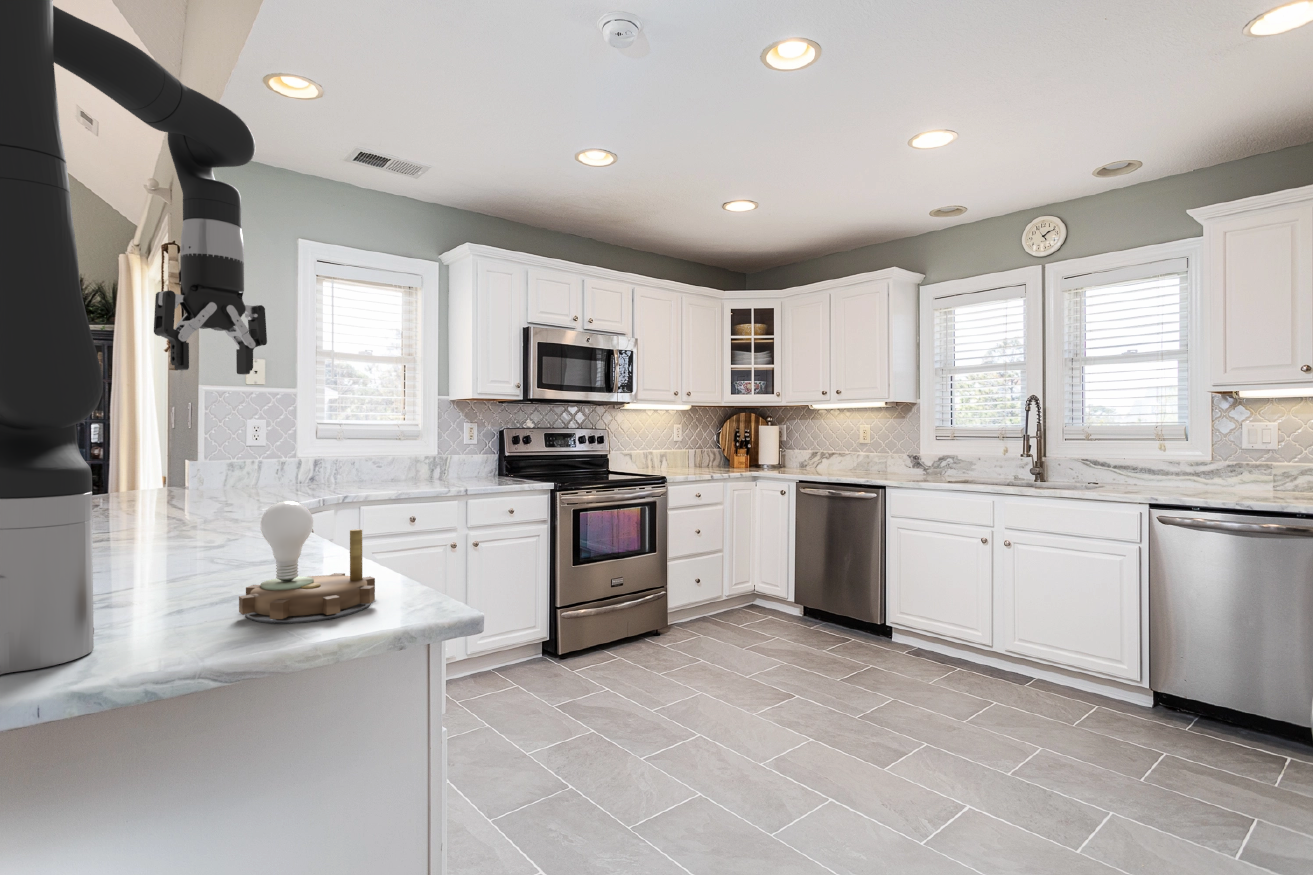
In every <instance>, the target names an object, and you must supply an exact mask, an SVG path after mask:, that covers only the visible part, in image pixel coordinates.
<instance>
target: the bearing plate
mask: <svg viewBox="0 0 1313 875" xmlns="http://www.w3.org/2000/svg"><path fill="white" fill-rule="evenodd" d="M371 604H372V602H371V603H370V604H362V603H360V604H357V605H355V606H352V607H349V608H345V609H341V610H340V613H336V614H330V615H326V614H324V613H319V614H311V615H299V616H288V617H286V618H284V619H270V615H262V614H258V613H255V612H254V613H248V614H245V616H246V618H247V619H249V620H250V621H253V622H257V623H265V624H277V625H278V624H284V625H285V624H286V625H287V624H301V623H302V624H304V623H312V622H313V623H315V622H320V621H327V620H332V619H338V618H342V617H347V616H349V615H352V614H356V613H358V612H361V611H364V610H365V609H367V608H369V606H371Z"/></svg>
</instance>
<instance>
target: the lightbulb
mask: <svg viewBox="0 0 1313 875" xmlns="http://www.w3.org/2000/svg"><path fill="white" fill-rule="evenodd" d="M313 529H314V517H313V514H312V513H311V511H310V510H309V509H308V507H307V506H305V505H304V504H303V503H301V502H299V501H298V502H297V501H294V500H284V501H283V500H282V501H279V502H276V503H273V504H272V505H270V506H269V507H268V508H267V509H266V510H265V512H264V513H263V514H262V517H261V519H260V532H261V534H262V537H263V538H264V540H265V541H266V542H267V544H268V546H269V547H270V548H271V550H272V555H273V558H274V559H275V566H276V568H275V570H276V571H275V573H276V574H275V575H276V577H275V579H279V580H281V581H283V582H290V581H292V580H293V579H295V578H296V577H299V559H300V557H301V555H302V549H303V546H304V544H305V543H306V541H307V540H308V539H309V537H310V535H311V534H312V532H313Z"/></svg>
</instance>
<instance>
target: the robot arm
mask: <svg viewBox="0 0 1313 875" xmlns="http://www.w3.org/2000/svg"><path fill="white" fill-rule="evenodd" d="M55 64H56V65H57V66H59V67H61V68H63V69H64V70H66V71H68V72H70V73H71V74H73V75H75V76H76V77H78V78H80V79H82V80H83V81H84V82H86V83H88V84H89V85H90V86H92V87H94V88H96V89H97V90H98V91H99V92H101V93H102V94H104V95H106V96H107V97H108V98H110V99H111V100H113V102H115V103H117V104H118V105H120V106H121V107H122V108H123V109H125V110H126V111H128V112H130V113H131V114H132V115H133V116H134V117H136V118H137V119H139V120H140V121H142V122H143V123H144V124H146V125H147V126H148V127H151V128H152V129H155V130H157V131H159V132H162V133H163V132H164V133H167V145H168V149H169V153H170V156H171V160H172V163H173V165H174V168H175V171H176V175H177V178H178V181H179V182H178V183H179V185H180V188H181V191H182V192H181V193H182V228H181V235H180V282H181V283H180V284H181V285H180V286H181V288H182V293H181V294H179V293H175V292H174V291H173V290H170V289H169V290H164V291H163V290H161V291H157V292H156V293H155V301H154V318H153V334H154V335H155V336H159V337H161V338H164V339H166V340H168V341H169V344H170V345H169V346H170V347H169V348H170V350H169V351H170V353H169V354H170V357H169V358H170V364H171V366H173V367H174V370H175V371H188V370H189V369H190V344H189V342H187V341H188V340H189V338H190V337H191V336H192V335H193V334H194V333H195V332H196V331H197V330H199V329H200V330H201V329H202V330H203V329H211V330H213V331H217V332H218V331H219V332H223V331H224V332H225V334H226V335H227V336H228V337H230V338H231V339H232V340H233V342H234V343H235V344H236V346H237V347H238V348H237V349H236V351H235V352H236V354H235V355H236V358H235V359H236V373H237V375H250V374H251V371H253V369H254V349H255V348H257V347H260V346H265V345H267V344H268V336H267V333H268V332H267V320H266V318H267V317H266V308H265V307H264V306H263V305H262V304H261V305H258V304H257V305H256V304H255V305H248V304H245V303H244V301H243V300H244V299H243V295H244V292H245V245H244V238H243V231H242V228H243V222H242V217H243V216H242V215H243V214H242V213H243V212H242V196H241V194H240V191H239V190H238V189H237V188H236V187H235V186H234V185H232V184H229V183H227V182H225V181H220V180H217V179H215V175H214V168H215V169H216V168H233V167H234V168H235V167H241V166H245V165H246V164H248V163H249V162H251V161H252V159H253V158H254V157H255V154H256V141H255V138H254V134H253V132H252V131H251V129H250V128H249V126H248V125H247V124H246V122H245V121H244V120H243V119H242V118H241V117H240V116H239V115H238V114H236V113H235V112H234V111H232V110H231V109H229V108H227V107H226V106H225V105H223V104H221V103H219V102H217V101H216V100H214V99H212V98H210V97H208V96H206V95H204V94H203V93H201V92H199V91H196V90H195V89H193V88H190V87H188V86H186V85H185V84H183V83H182V82H181V81H180V80H179V79H178V78H177V77H176V76H174V75H173V74H172V73H171V72H169V71H168V70H167V69H166V68H165V67H164V66H162V65H161V64H160V63H159V62H157V61H156V60H155V59H154V58H152V57H151V56H150V55H149V54H148V53H146V52H145V51H143V50H141V49H140V48H138V47H137V45H136V46H135V45H134V44H132V43H131V42H129V41H127V40H125V39H123V38H121V37H120V36H117V35H115V34H113V33H111V32H109V31H107V30H105V29H103V28H101V27H98V26H96V25H94V24H92V23H89V22H88V21H85V20H83V19H81V18H79V17H76V16H74V14H71V13H69V12H67V11H65V10H63V9H60V8H59V7H57V6H55V5H54V0H0V675H4V674H8V673H13V672H23V671H30V670H36V669H42V668H48V667H52V666H56V665H59V664H60V665H61V664H64V663H67V662H71V661H74V660H76V659H80V658H81V657H84V656H86V655H88V654H90V653H91V652H92V651H94V648H95V646H94V645H95V644H94V643H95V642H94V640H95V638H94V637H95V636H94V635H95V627H94V626H95V625H94V565H93V564H94V562H93V561H94V560H93V559H94V558H93V557H94V556H93V553H94V551H93V542H94V541H93V472H92V469H91V466H90V465H89V464H88V463H87V462H86V460H85V459H84V458H83V456H82V454H81V452H80V448H79V445H78V435H77V432H78V431H77V424H80V423H81V422H83V421H84V420H86V419H87V418H89V417H90V416H91V415H92V414H93V412H94V411H96V409H97V407H98V405H99V403H100V401H101V398H102V395H103V388H104V378H103V373H102V368H101V367H102V366H101V363H100V360H99V357H98V352H97V349H96V345H95V342H94V339H93V334H92V329H91V326H90V323H89V320H88V316H87V312H86V308H85V304H84V299H83V294H82V288H81V281H80V279H81V278H80V270H79V268H80V267H79V259H78V258H79V257H78V250H77V241H76V232H75V226H74V217H73V204H72V195H71V187H70V181H69V173H68V166H67V159H66V153H65V150H64V148H65V147H64V144H63V143H64V142H63V137H62V131H61V122H60V112H59V103H58V94H57V93H58V91H57V84H56V72H55ZM179 305H180V307H181V308H182V309H183V311H184V312H185V314H184V316H182V318H180V320H179V321H178V322H177V324H176V326H175V314H176V313H175V312H176V311H175V310H176V309H178V307H179ZM243 315H244V318H246V320H247V325H246V324H245V322H244V321H243V320H242V317H243Z"/></svg>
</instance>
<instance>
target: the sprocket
mask: <svg viewBox="0 0 1313 875" xmlns="http://www.w3.org/2000/svg"><path fill="white" fill-rule="evenodd" d="M375 595H376V578H375V577H373V576H363V529H358V528H357V529H350V530H349V575H346V573H344V572H343V573H340V572H338V573H337V572H335V573H332V574H329V575H327V574H326V575H310V576H309V575H308V576H298V577H296V578H295V579H293V580H292V581H290V582H283V581H281V580H279V579H277V578H273V579H269V580H266V581H265V580H264V581H262V582H261V583H260V584H251V585H248V586H246V587H245V594H244V595H239V596H238V612H239V613H240V614H241V615H246V614H248V613H254V612H255V613H258V614H262V615H270V619H284V618H286V617H288V616H299V615H311V614H319V613H324V614H326V615H330V614H336V613H340V610H341V609H345V608H349V607H352V606H355V605H357V604H360V603H362V604H370V603H371V604H372V603H373V602H375V601H376V600H375V598H376V596H375ZM371 604H370V605H371Z"/></svg>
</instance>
